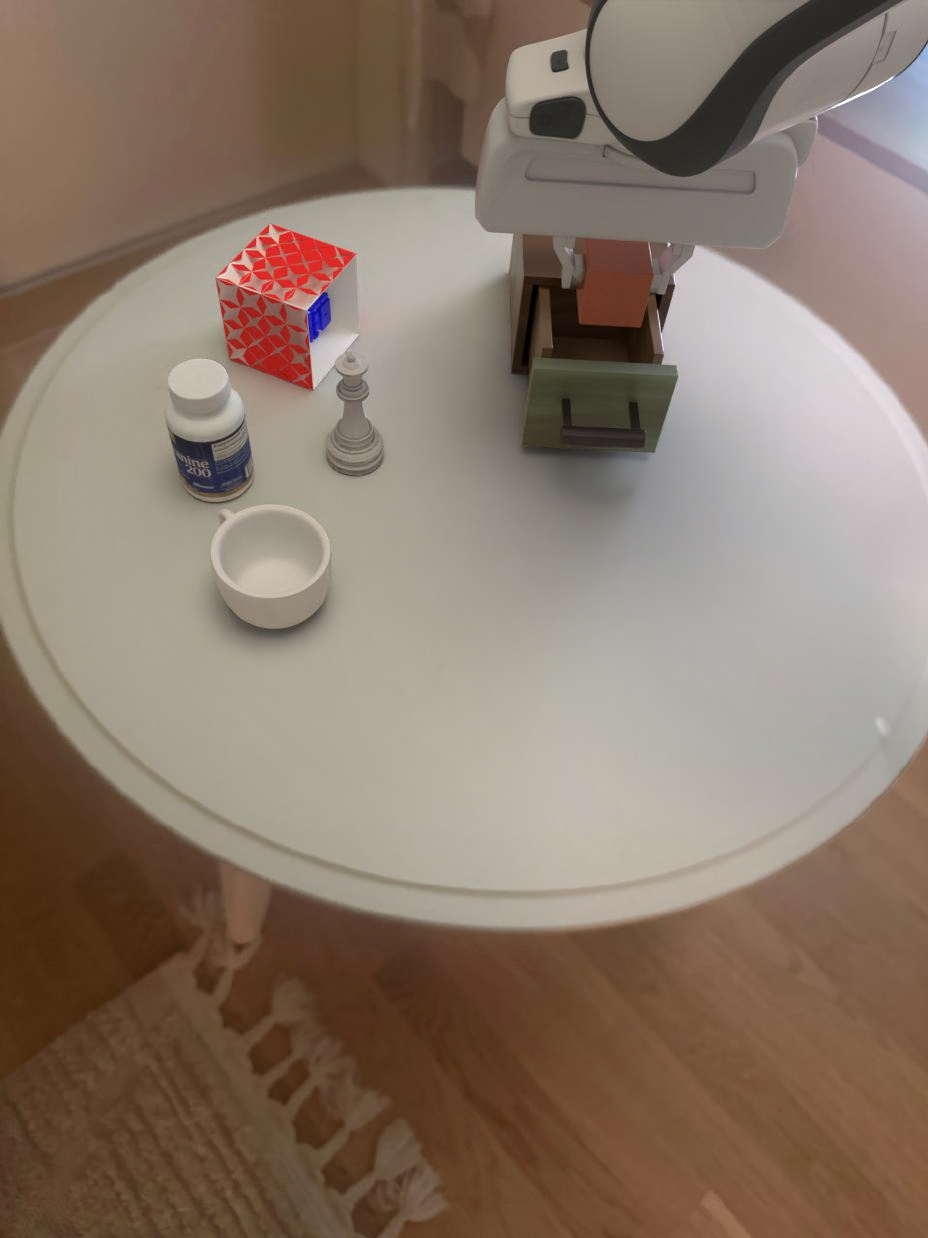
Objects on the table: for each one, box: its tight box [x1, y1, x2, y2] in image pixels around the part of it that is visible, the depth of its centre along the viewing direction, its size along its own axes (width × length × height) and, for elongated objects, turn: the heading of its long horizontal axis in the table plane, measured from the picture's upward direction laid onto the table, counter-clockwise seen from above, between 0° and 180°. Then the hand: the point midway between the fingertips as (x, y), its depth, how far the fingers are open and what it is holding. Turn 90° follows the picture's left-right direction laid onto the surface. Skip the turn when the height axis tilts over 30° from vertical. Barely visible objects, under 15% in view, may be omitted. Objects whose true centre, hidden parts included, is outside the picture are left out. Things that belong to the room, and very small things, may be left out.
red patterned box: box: [215, 223, 361, 391], centre depth 79 cm, size 8×8×8 cm
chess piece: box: [325, 351, 385, 476], centre depth 72 cm, size 4×4×10 cm
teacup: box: [209, 503, 333, 630], centre depth 66 cm, size 10×8×5 cm
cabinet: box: [508, 234, 676, 375], centre depth 82 cm, size 14×12×10 cm
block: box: [576, 238, 654, 328], centre depth 69 cm, size 4×4×4 cm
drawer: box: [521, 285, 679, 454], centre depth 75 cm, size 17×10×8 cm, turn 179°
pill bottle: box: [164, 358, 255, 503], centre depth 70 cm, size 5×5×10 cm
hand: (611, 286), depth 69 cm, fingers closed on block, 4 cm apart
